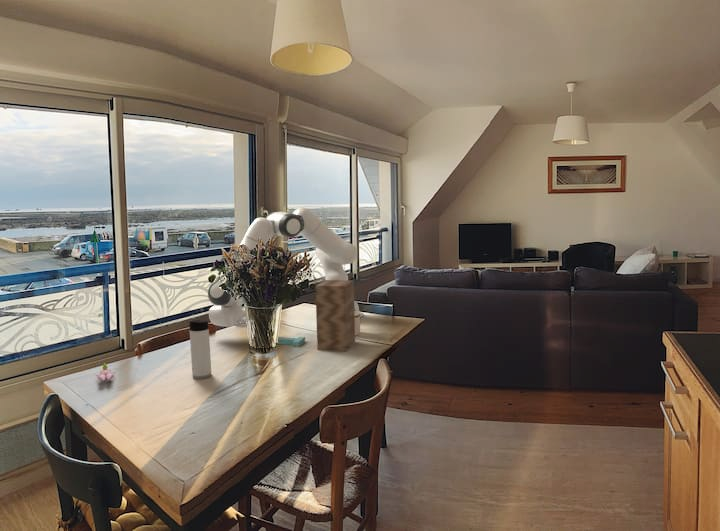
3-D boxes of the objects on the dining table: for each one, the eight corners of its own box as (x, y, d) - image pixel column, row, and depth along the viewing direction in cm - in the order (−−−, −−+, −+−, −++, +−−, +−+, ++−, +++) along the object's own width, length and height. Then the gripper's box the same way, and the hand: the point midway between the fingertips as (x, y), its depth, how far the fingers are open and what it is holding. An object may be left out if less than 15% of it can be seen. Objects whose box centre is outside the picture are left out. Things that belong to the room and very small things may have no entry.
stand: (317, 349, 205) (315, 285, 202) (327, 340, 219) (325, 279, 215) (346, 351, 202) (345, 286, 199) (354, 341, 216) (353, 280, 212)
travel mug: (188, 379, 174) (184, 321, 172) (197, 372, 181) (194, 317, 178) (206, 380, 173) (202, 322, 170) (214, 373, 180) (211, 317, 177)
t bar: (256, 345, 214) (256, 340, 214) (264, 340, 222) (264, 334, 222) (298, 348, 210) (298, 342, 210) (305, 342, 218) (304, 336, 217)
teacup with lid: (363, 331, 231) (363, 306, 229) (355, 337, 223) (355, 310, 221) (339, 329, 236) (339, 304, 234) (330, 334, 227) (330, 308, 226)
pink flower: (96, 380, 179) (95, 386, 166) (94, 363, 179) (94, 368, 166) (115, 376, 182) (117, 383, 169) (114, 360, 182) (115, 365, 169)
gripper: (233, 315, 208) (265, 316, 205) (255, 304, 227) (284, 305, 224) (234, 330, 209) (266, 332, 205) (256, 318, 228) (285, 319, 225)
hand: (276, 318), depth 215 cm, fingers open, 5 cm apart
